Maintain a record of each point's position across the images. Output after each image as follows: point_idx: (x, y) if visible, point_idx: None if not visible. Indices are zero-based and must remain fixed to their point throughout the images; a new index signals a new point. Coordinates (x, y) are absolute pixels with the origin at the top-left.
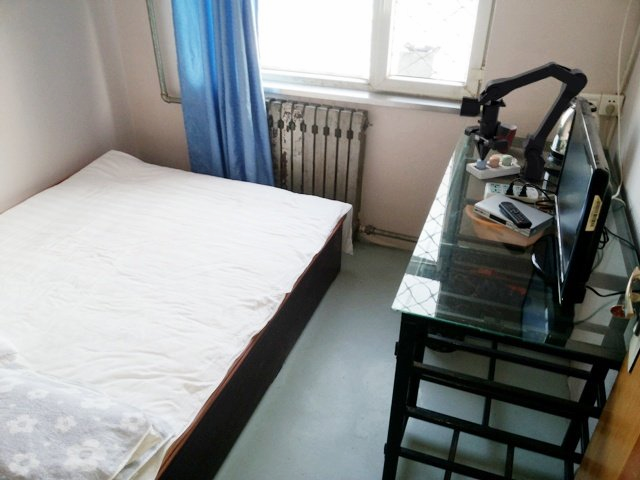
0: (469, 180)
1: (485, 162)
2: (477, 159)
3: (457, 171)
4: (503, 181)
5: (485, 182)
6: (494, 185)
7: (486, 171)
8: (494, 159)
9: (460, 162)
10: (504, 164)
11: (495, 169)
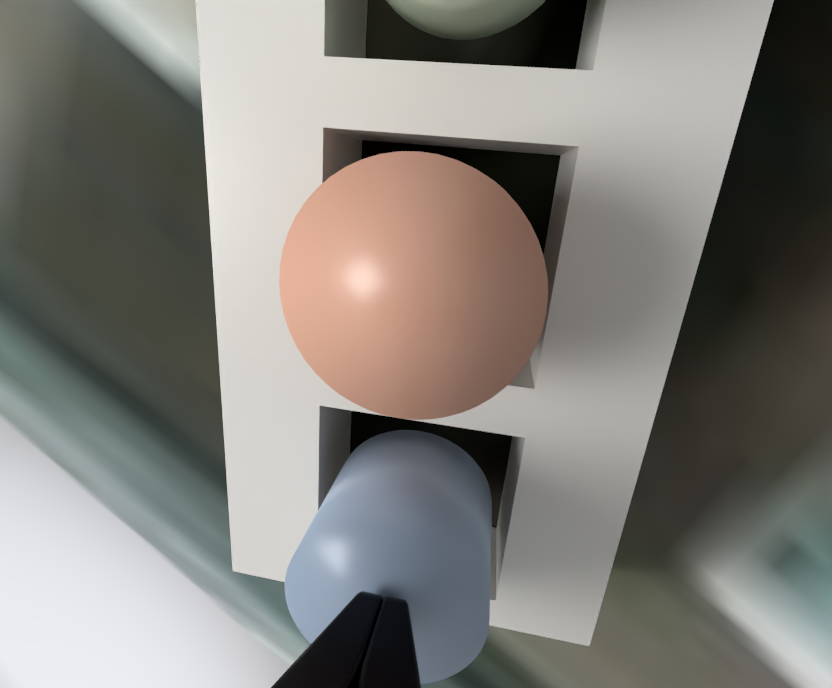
0: (526, 659)
1: (488, 613)
2: (307, 635)
3: (273, 594)
4: (827, 362)
5: (678, 574)
6: (827, 555)
7: (586, 553)
8: (460, 359)
9: (55, 405)
10: (523, 13)
11: (609, 377)
